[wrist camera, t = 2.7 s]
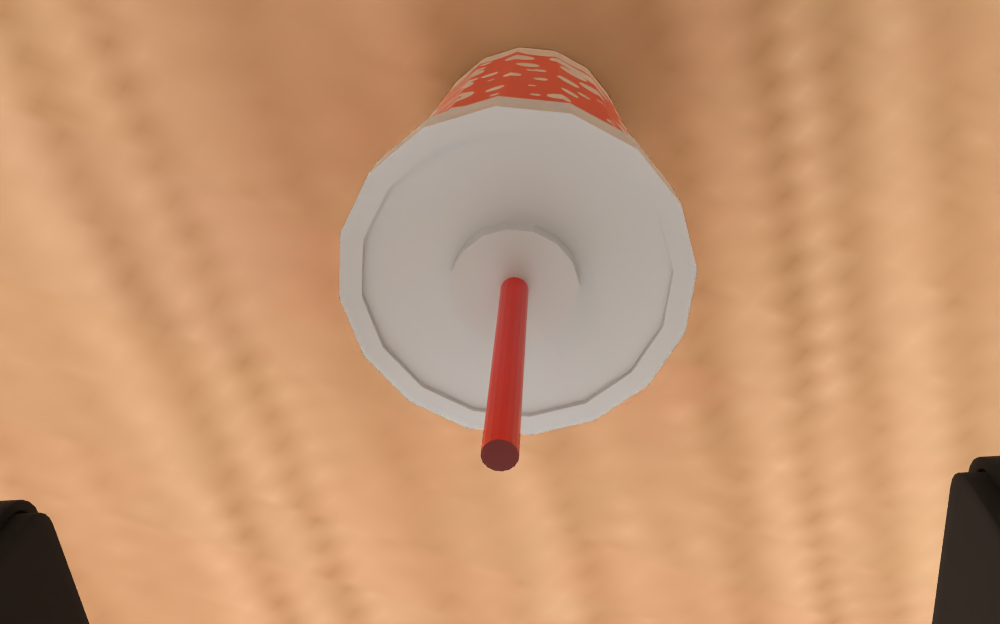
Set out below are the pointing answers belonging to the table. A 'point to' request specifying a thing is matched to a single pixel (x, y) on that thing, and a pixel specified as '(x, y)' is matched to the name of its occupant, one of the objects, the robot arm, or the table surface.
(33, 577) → the robot arm
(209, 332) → the table surface
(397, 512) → the table surface
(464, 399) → the beverage cup
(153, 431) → the table surface
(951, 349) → the table surface
